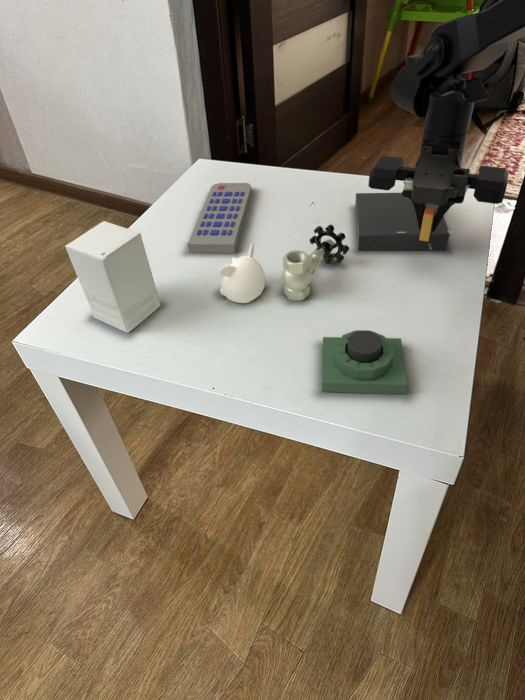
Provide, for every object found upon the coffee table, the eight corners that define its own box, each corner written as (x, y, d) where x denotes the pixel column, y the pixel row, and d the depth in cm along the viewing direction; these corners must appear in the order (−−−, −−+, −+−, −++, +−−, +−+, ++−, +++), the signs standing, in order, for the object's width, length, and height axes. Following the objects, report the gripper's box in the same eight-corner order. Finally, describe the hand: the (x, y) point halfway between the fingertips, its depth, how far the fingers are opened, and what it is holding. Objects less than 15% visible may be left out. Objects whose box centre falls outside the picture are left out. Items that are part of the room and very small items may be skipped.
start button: (379, 340, 62) (380, 330, 60) (381, 363, 59) (383, 353, 58) (346, 340, 62) (347, 329, 61) (347, 363, 59) (348, 352, 58)
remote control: (189, 253, 84) (186, 242, 83) (214, 189, 100) (213, 179, 98) (235, 254, 83) (233, 243, 82) (253, 189, 99) (252, 179, 97)
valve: (308, 308, 72) (348, 266, 78) (308, 271, 67) (350, 230, 74) (271, 294, 75) (312, 255, 81) (268, 257, 70) (312, 219, 77)
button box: (399, 347, 65) (402, 327, 62) (405, 394, 59) (410, 374, 57) (322, 346, 66) (323, 326, 64) (321, 391, 60) (322, 372, 58)
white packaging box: (162, 305, 74) (142, 232, 66) (127, 335, 70) (101, 260, 61) (128, 290, 78) (104, 218, 69) (92, 318, 74) (62, 245, 65)
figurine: (243, 272, 79) (239, 236, 75) (276, 284, 76) (274, 248, 72) (211, 299, 75) (205, 263, 70) (245, 313, 72) (241, 276, 67)
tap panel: (439, 207, 89) (443, 190, 87) (457, 265, 77) (462, 248, 74) (354, 208, 91) (356, 192, 89) (358, 265, 78) (360, 248, 76)
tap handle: (424, 224, 80) (429, 197, 77) (433, 225, 80) (439, 198, 76) (419, 240, 77) (423, 212, 74) (428, 241, 76) (433, 214, 73)
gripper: (363, 146, 65) (355, 248, 76) (517, 161, 59) (485, 269, 70) (382, 115, 72) (372, 212, 83) (522, 125, 66) (491, 228, 77)
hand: (426, 229), depth 78 cm, fingers closed on tap handle
